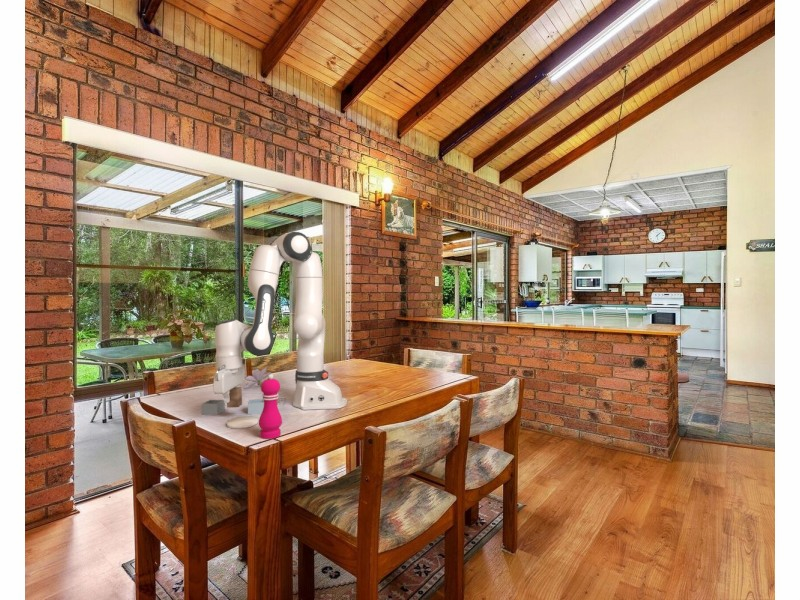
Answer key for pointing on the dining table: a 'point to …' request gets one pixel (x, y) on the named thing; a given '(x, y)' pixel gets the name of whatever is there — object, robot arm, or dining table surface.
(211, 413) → the sleeve
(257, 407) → the sleeve
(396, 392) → the dining table surface
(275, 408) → the pepper mill
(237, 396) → the walnut block
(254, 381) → the water lily
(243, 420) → the plate
